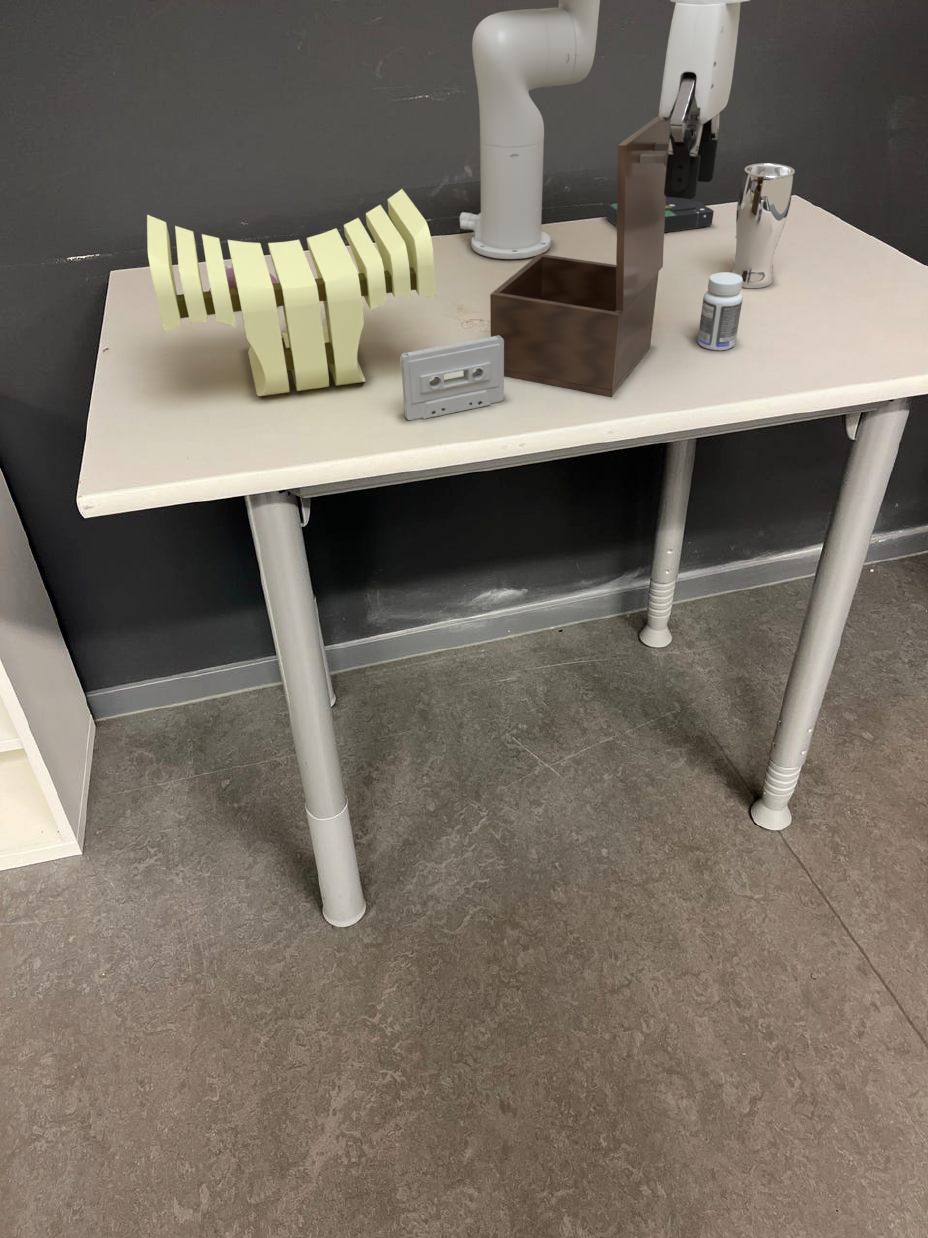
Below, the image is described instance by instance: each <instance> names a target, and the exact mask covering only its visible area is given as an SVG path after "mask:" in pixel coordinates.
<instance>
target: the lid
mask: <svg viewBox="0 0 928 1238" xmlns="http://www.w3.org/2000/svg"><path fill="white" fill-rule="evenodd" d="M669 128H670V120H669V121H667V122H663V121H662V120H661V119H660V117H659V115H657V116H656V117H654V118H653V119H652V120H650V121H649V122H647V123H646V124H645V125H644V126H642V127H641V128H639V129H638V130H636V131H635V132H634V133H633V134H631V135H630V136H628V137H627V138H625V139H624V140H623V141H622V142H620V143H619V144H617V165H616V166H617V173H616V177H617V181H616V202H617V226H616V256H615V259H616V262H615V265H616V311H623V310H624V309H625V308H626V307H627V306H628V305H629V304H630V303H631V302H632V300H633V299H634V298H635V297H636V296H637V295H638V294H639V293H640V292H641V290H642V289H643V288H644V287H645V286H646V285H647V284H648V283H649V282H650V280H651V279H652V278H653V277H654V276H655V275H656V274H657V273H658V272H660V271H661V270H662V268H664V248H665V247H664V246H665V232H664V226H665V202H666V196H665V195H664V187H665V177H666V167H667V157H668V147H669ZM691 137H692V138H693V136H691ZM658 274H659V273H658Z"/></svg>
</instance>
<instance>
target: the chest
mask: <svg viewBox="0 0 928 1238" xmlns="http://www.w3.org/2000/svg"><path fill="white" fill-rule="evenodd" d="M659 272H660V271H659ZM659 272H658V273H657V274H656V275H655V276H654V277H653V278H652V279H651V280H650V282H649V283H648V284H647V285H646V286H645V287H644V288H643V289H642V290H641V292H640V293H639V294H638V295H637V296H636V297H635V298H634V299H633V300H632V302H631V303H630V304H629V305H628V306H627V307H626V308H625V309H624V310H623V311H616V264H614V263H613V264H611V263H607V262H599V261H592V260H585V259H580V258H579V259H577V258H571V257H564V256H557V255H550V254H544V253H542V254H538V255H537V256H534V257H532V259H530V261H529V262H527V263H526V264H524V266H522V267H521V268H520V269H519V270H518V271H516V272H515V273H513V275H512V276H510V277H509V278H508V279H506V281H504V282H503V283H502V284H500V286H498V287H497V288H496V289H494V291H492V292H491V293H490V297H489V300H490V302H489V303H490V305H489V306H490V307H489V310H490V314H489V315H490V319H489V320H490V337H493V336H498V335H499V336H501V337H502V338H503V340H504V377H508V378H509V377H510V378H514V379H519V380H523V381H530V382H535V383H539V384H544V385H548V386H549V385H550V386H555V387H559V388H564V389H570V390H575V391H579V392H585V393H590V394H594V395H600V396H605V397H610V398H612V397H613V396H614V394H616V392H618V390H619V389H620V387H621V386H622V385H623V383H624V382H625V381H626V380H627V378H628V377H629V376H630V374H631V373H632V372H633V371H634V370H635V368H636V367H637V365H638V364H639V363H640V362H641V361H642V360H643V358H644V356H646V354H647V353H648V351H649V350H650V349H651V343H652V335H653V325H654V315H655V309H656V307H655V306H656V299H657V291H658V282H659Z"/></svg>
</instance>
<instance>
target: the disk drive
mask: <svg viewBox="0 0 928 1238" xmlns="http://www.w3.org/2000/svg"><path fill="white" fill-rule="evenodd" d="M714 213H715V211H714V210H713V209H712V208H710V207H708V206H707V205H705V204H703V203H702V202H700V201H699V200H693V199H684V198H674V197H666V202H665V226H664V233H668V232H678V231H685V230H692V229H693V230H694V229H699V228H704V227H708V226H712V225H713V219H714ZM605 218H606V219H607V220H608V221H609V222H610V223H612V224H613V225H615V226H616V227H617V201H614V202H607V203H606V210H605Z"/></svg>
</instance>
